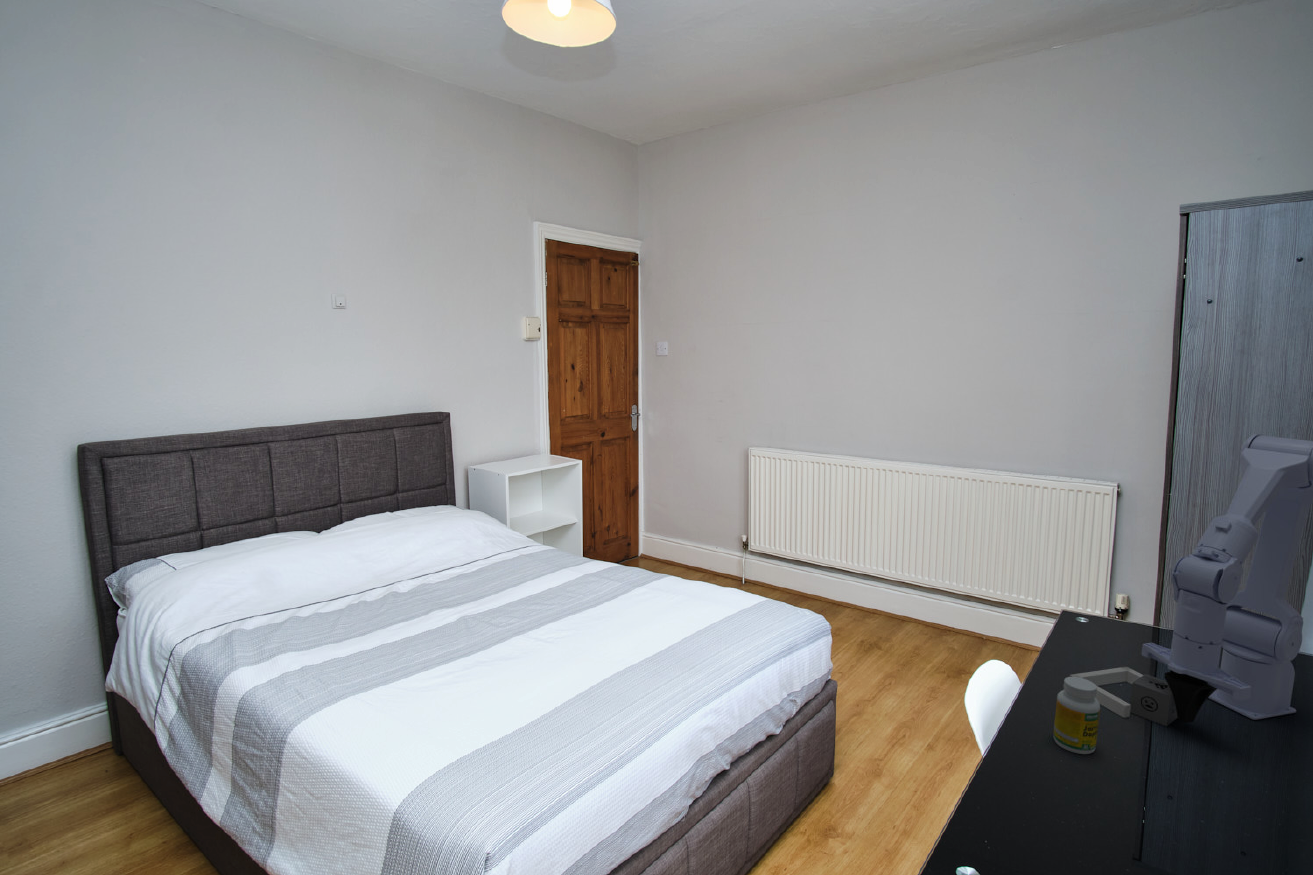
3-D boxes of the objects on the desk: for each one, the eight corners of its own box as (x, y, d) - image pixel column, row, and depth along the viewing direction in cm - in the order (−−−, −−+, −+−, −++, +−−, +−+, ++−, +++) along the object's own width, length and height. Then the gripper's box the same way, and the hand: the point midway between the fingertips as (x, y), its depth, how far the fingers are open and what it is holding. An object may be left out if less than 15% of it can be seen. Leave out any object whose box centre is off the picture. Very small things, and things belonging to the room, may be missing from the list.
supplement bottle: (1063, 729, 103) (1070, 670, 101) (1102, 747, 98) (1109, 685, 97) (1045, 741, 100) (1051, 679, 98) (1084, 760, 95) (1091, 696, 94)
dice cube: (1166, 726, 104) (1170, 695, 103) (1129, 711, 108) (1132, 682, 107) (1178, 716, 107) (1182, 686, 106) (1142, 702, 111) (1145, 673, 110)
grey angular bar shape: (1125, 677, 119) (1126, 666, 119) (1183, 707, 110) (1185, 695, 109) (1068, 685, 116) (1069, 674, 116) (1123, 717, 106) (1125, 705, 106)
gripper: (1131, 619, 107) (1121, 699, 109) (1230, 661, 93) (1216, 752, 95) (1165, 615, 109) (1154, 694, 111) (1266, 655, 95) (1253, 745, 97)
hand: (1185, 720), depth 103 cm, fingers closed
